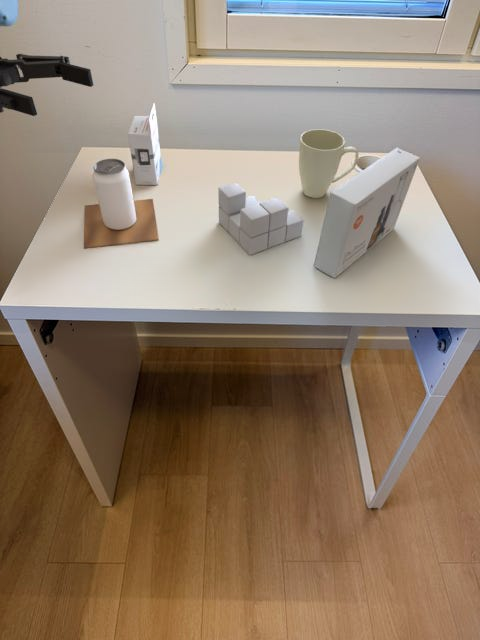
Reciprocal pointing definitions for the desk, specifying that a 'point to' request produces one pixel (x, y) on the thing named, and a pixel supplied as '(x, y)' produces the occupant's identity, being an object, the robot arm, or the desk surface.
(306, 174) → the mug
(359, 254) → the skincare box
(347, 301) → the desk surface
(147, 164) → the ink box
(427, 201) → the desk surface
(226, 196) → the stacked white cubes
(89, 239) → the wooden coaster
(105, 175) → the can
